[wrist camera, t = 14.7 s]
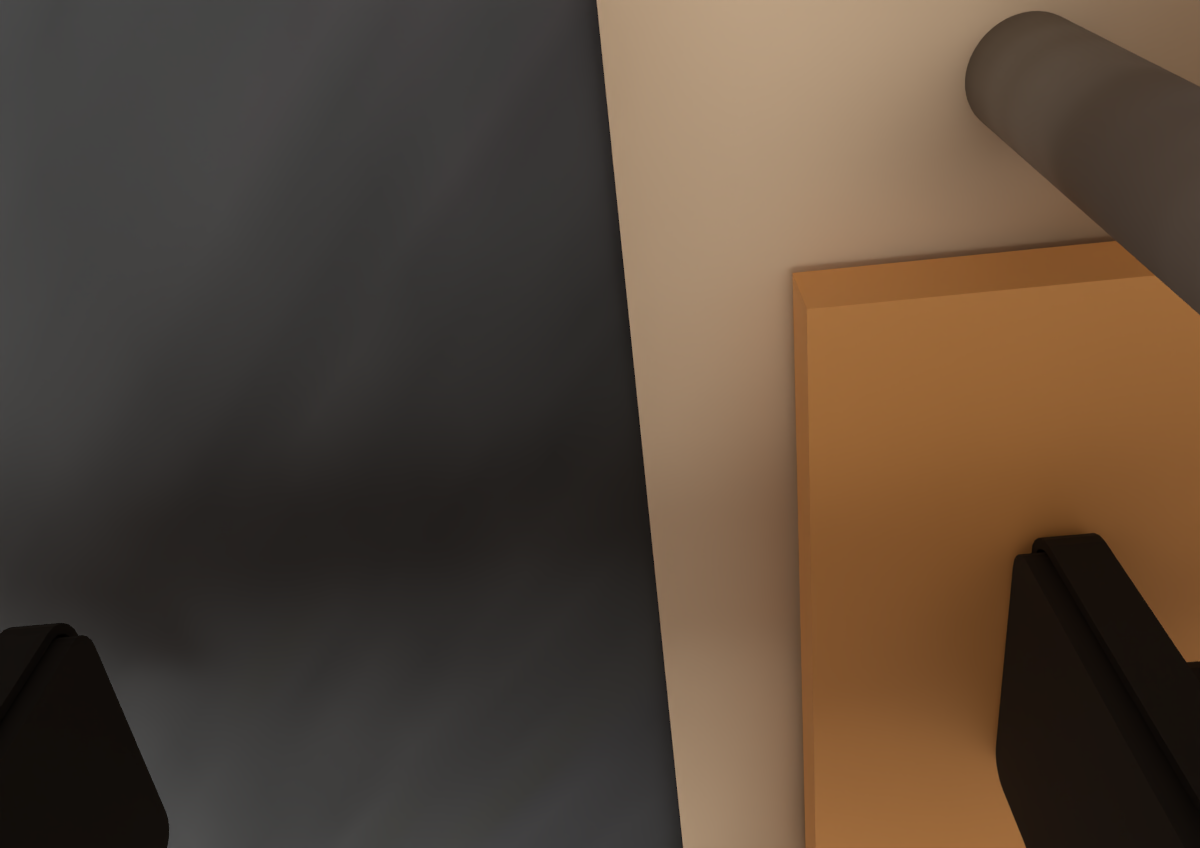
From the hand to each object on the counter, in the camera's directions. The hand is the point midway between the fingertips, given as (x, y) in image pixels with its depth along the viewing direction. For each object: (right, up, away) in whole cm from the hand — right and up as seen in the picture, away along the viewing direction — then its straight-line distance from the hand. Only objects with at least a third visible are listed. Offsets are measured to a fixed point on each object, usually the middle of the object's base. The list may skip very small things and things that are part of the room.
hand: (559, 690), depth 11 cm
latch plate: (+5, +1, 0) cm, 5 cm away
